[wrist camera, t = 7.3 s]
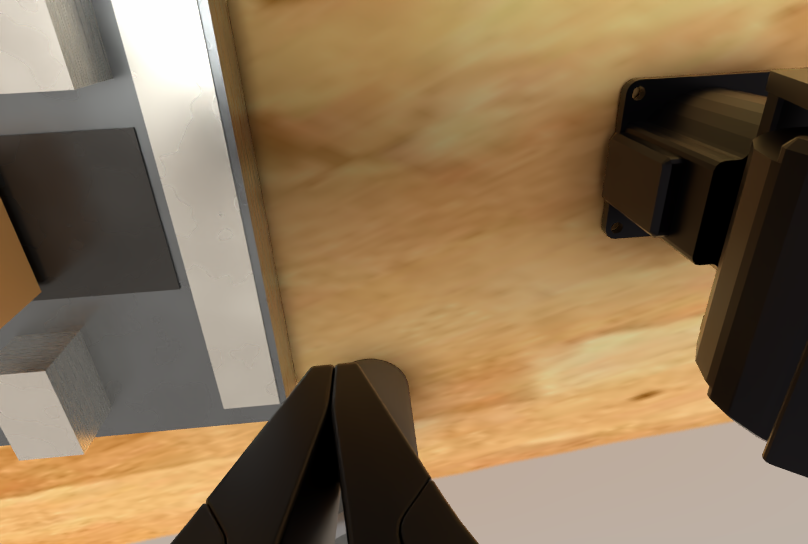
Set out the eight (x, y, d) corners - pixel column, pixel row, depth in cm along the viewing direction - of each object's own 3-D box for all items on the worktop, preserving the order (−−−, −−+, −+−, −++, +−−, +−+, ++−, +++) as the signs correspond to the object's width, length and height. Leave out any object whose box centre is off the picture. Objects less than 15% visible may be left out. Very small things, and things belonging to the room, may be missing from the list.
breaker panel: (202, -128, 16) (142, -183, 11) (296, 382, 25) (283, 463, 20) (-249, -113, 15) (-504, -164, 10) (21, 406, 24) (-54, 496, 20)
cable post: (413, 350, 25) (440, 513, 17) (416, 421, 27) (441, 596, 19) (317, 358, 24) (299, 528, 16) (328, 429, 26) (316, 610, 19)
